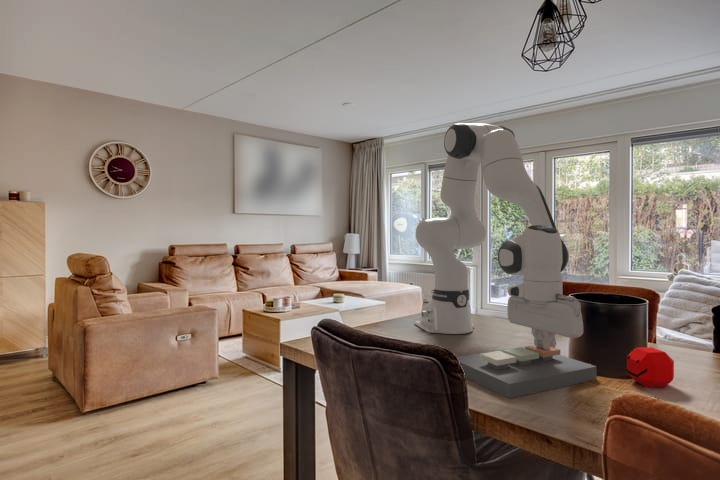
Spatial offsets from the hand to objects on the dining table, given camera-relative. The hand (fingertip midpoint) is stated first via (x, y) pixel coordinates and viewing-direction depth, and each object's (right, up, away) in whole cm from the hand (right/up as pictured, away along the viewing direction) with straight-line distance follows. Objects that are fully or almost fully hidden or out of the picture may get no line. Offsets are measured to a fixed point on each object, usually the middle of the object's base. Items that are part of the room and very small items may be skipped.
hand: (542, 348), depth 105 cm
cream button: (-13, -5, -6) cm, 15 cm away
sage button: (-6, -4, -3) cm, 8 cm away
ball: (+20, -6, -10) cm, 23 cm away
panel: (-6, -6, -3) cm, 9 cm away
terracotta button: (0, -4, 0) cm, 4 cm away
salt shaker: (+8, -5, +17) cm, 19 cm away
